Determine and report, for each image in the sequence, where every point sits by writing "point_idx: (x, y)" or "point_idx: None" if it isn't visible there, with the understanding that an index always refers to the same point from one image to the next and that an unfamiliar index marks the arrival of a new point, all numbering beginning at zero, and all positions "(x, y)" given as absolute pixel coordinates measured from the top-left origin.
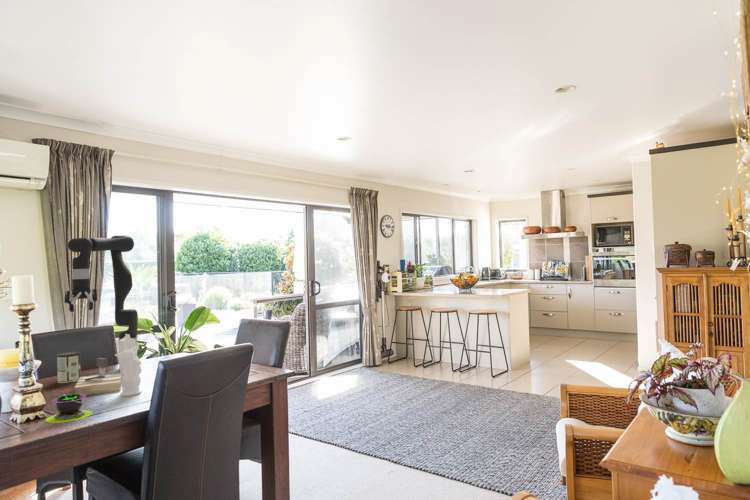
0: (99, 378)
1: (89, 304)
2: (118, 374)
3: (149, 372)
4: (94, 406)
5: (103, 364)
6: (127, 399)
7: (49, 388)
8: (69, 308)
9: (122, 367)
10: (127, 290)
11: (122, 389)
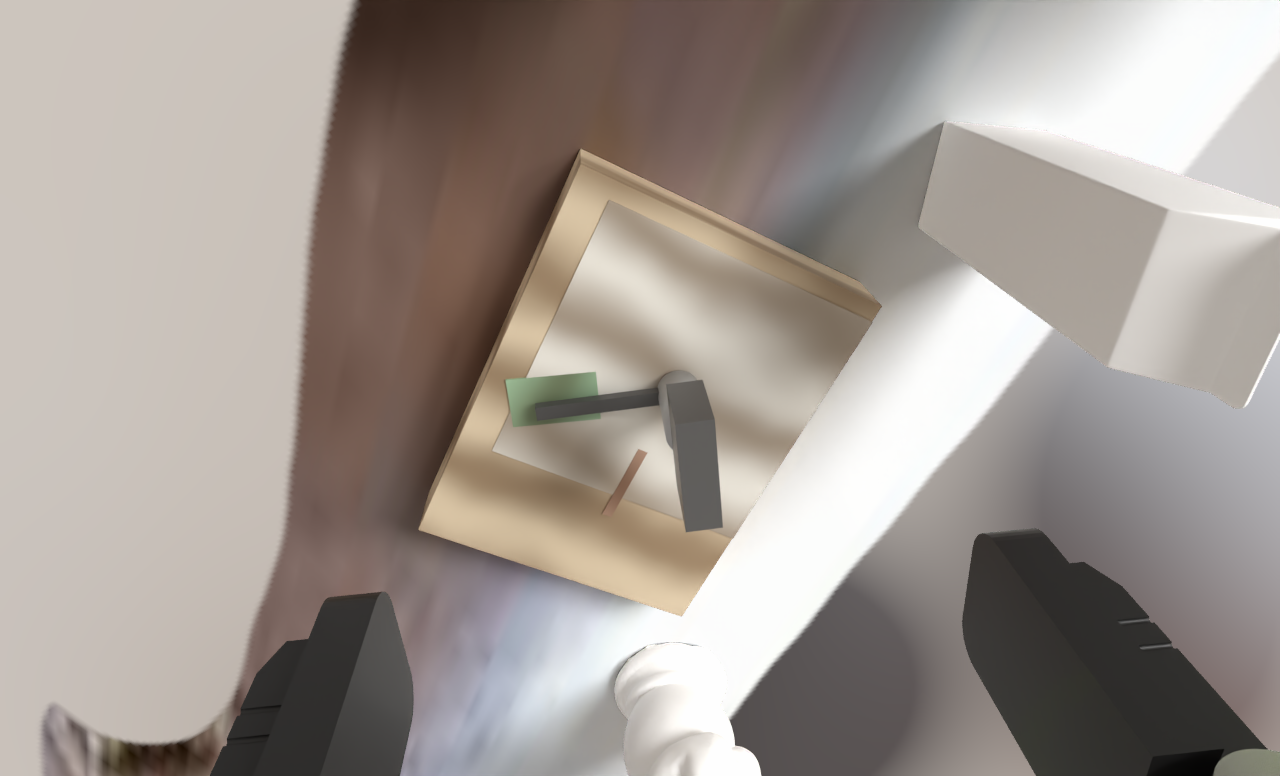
0: None
1: (1082, 750)
2: (809, 385)
3: None
4: (439, 754)
5: (679, 499)
6: (601, 758)
7: (355, 9)
8: (245, 738)
9: (966, 210)
10: None
11: (626, 707)
